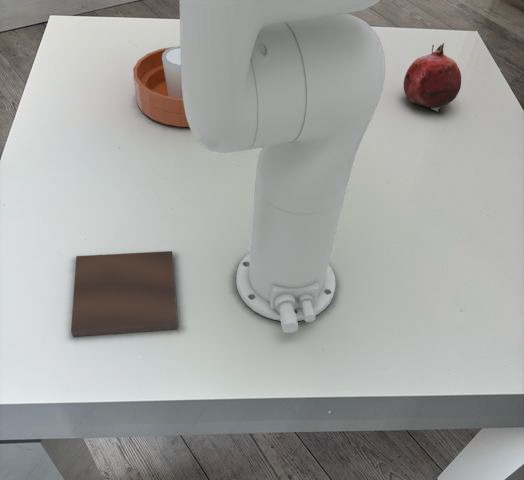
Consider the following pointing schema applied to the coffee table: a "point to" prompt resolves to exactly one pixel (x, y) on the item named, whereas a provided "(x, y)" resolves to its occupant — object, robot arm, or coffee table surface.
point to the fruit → (433, 80)
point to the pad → (124, 294)
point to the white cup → (173, 71)
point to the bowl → (157, 91)
